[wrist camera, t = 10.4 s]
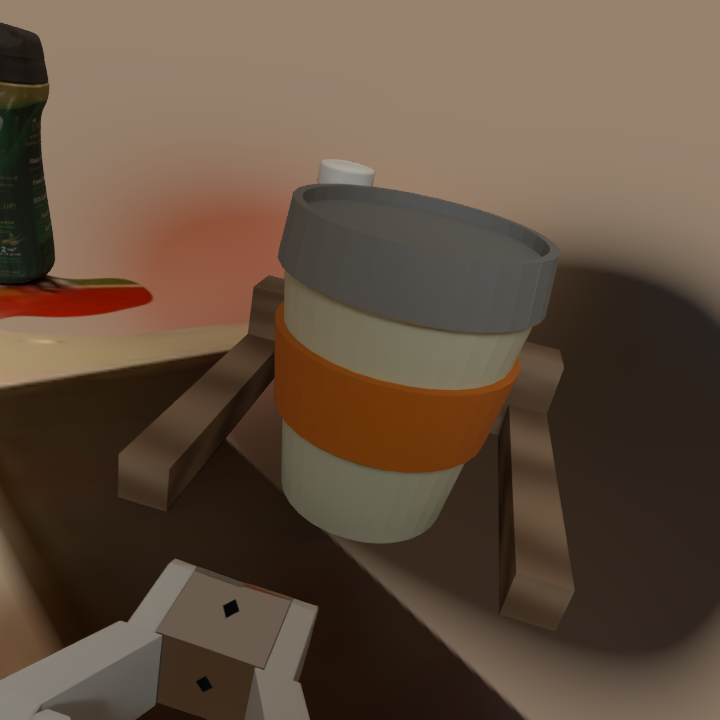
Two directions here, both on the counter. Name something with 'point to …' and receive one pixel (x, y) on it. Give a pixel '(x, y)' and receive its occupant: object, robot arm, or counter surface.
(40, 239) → the coffee jar
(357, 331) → the reusable coffee cup
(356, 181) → the spice jar
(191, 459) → the walnut bay
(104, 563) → the counter surface
